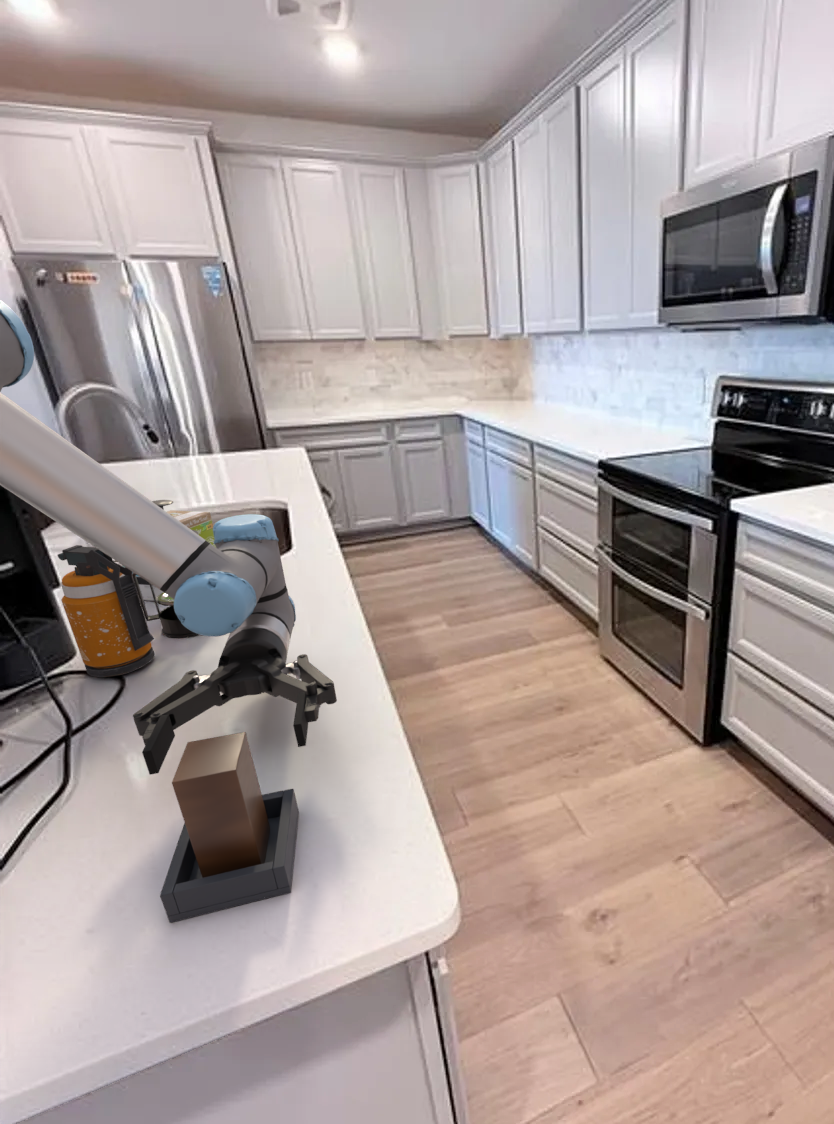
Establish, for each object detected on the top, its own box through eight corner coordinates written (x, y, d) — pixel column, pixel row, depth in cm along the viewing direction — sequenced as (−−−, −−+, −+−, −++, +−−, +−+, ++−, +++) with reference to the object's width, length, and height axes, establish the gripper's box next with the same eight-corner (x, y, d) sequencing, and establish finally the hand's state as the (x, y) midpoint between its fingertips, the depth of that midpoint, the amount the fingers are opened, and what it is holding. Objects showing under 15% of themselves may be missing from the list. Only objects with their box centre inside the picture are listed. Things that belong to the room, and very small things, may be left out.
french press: (223, 610, 117) (193, 491, 108) (228, 628, 109) (196, 502, 100) (151, 625, 111) (113, 500, 102) (150, 645, 104) (109, 513, 95)
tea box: (175, 603, 120) (154, 530, 115) (130, 600, 122) (108, 528, 116) (226, 575, 134) (210, 509, 128) (186, 573, 136) (168, 508, 130)
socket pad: (169, 923, 54) (159, 895, 53) (196, 834, 64) (188, 809, 63) (291, 892, 57) (284, 865, 56) (299, 812, 67) (293, 787, 65)
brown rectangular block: (204, 886, 57) (171, 782, 52) (217, 840, 62) (187, 741, 57) (263, 872, 58) (235, 769, 54) (270, 828, 63) (245, 731, 59)
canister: (123, 650, 102) (85, 535, 95) (180, 656, 100) (146, 539, 92) (73, 677, 94) (27, 554, 86) (134, 684, 92) (93, 558, 84)
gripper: (359, 662, 85) (361, 754, 67) (155, 694, 78) (94, 806, 60) (351, 613, 82) (351, 694, 64) (139, 642, 76) (69, 742, 57)
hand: (227, 748), depth 62 cm, fingers open, 13 cm apart
